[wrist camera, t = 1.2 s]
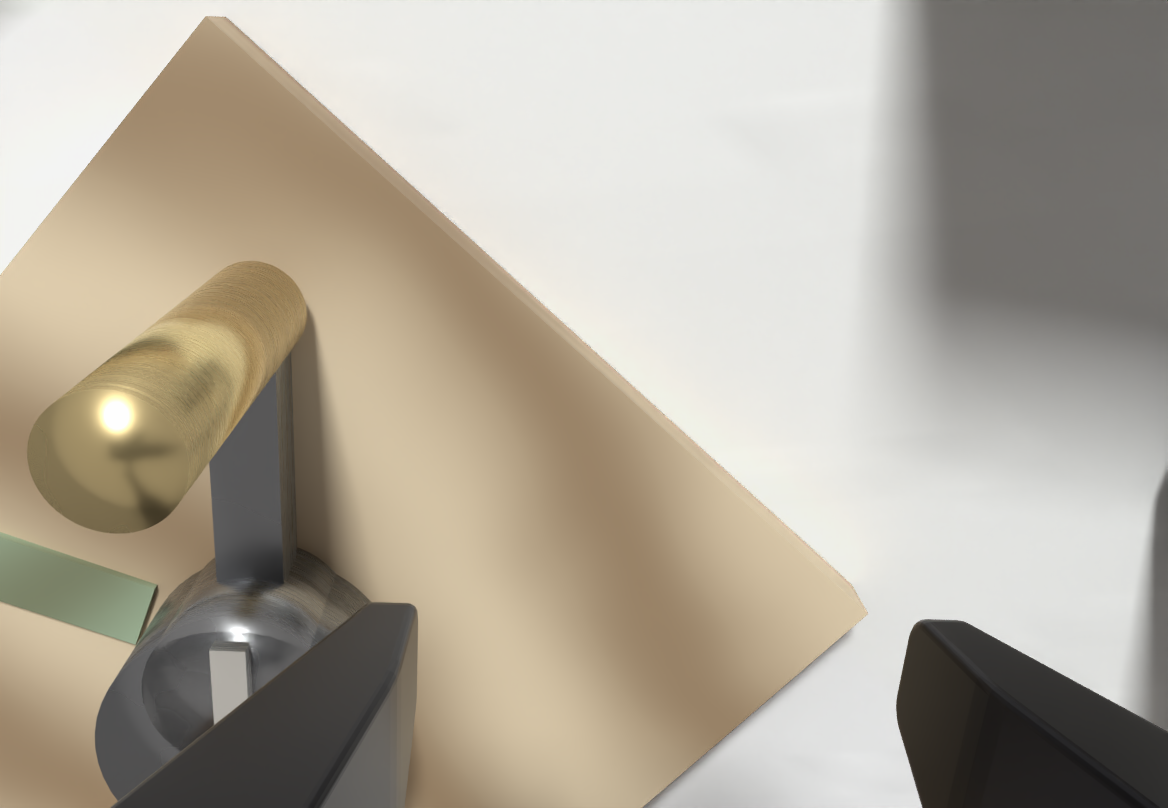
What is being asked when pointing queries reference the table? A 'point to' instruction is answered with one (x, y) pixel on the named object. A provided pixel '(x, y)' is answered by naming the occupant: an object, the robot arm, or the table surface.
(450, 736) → the stand
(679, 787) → the table surface
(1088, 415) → the table surface
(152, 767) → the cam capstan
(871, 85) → the table surface
